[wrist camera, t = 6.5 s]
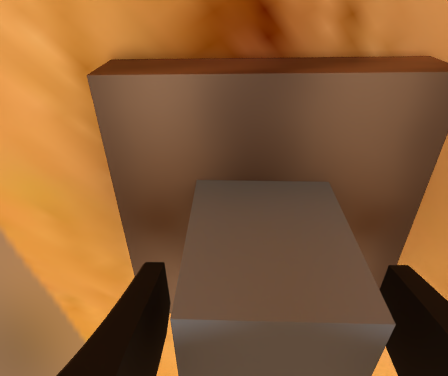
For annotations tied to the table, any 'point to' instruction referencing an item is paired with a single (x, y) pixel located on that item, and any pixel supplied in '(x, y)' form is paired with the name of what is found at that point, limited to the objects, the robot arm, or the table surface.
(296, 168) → the walnut slab
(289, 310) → the slate block
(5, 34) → the table surface
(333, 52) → the table surface
